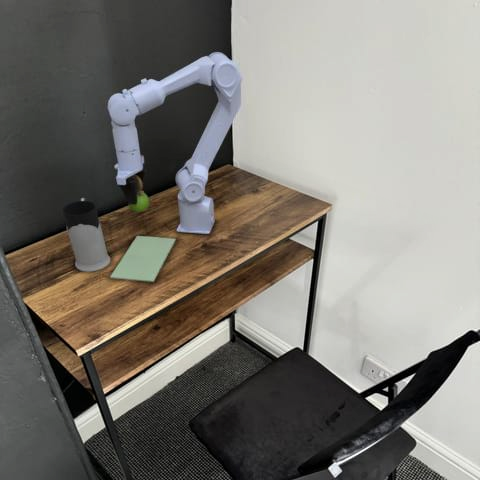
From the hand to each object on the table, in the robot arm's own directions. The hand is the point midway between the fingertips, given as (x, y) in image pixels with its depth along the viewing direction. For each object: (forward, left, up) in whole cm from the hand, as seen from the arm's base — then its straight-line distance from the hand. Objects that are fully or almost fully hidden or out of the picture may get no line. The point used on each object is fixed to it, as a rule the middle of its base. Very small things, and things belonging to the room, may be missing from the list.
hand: (135, 199), depth 122 cm
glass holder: (+9, +13, -10) cm, 19 cm away
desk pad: (-5, +12, -10) cm, 16 cm away
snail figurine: (0, -1, -4) cm, 4 cm away
